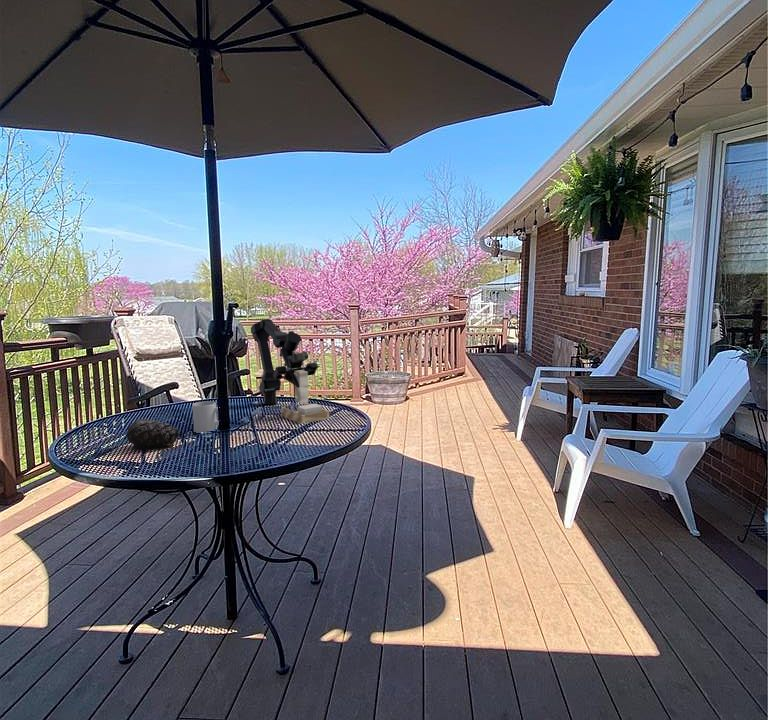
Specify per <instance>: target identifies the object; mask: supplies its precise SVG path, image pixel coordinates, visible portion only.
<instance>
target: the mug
mask: <svg viewBox="0 0 768 720" xmlns="http://www.w3.org/2000/svg"><path fill="white" fill-rule="evenodd" d="M191 407H192V418H193V433H194V432H196V433H201V432H206V431H211V430H214V429H217V427H218V426H219V421H220V420H218V416H217V412H219V411H218V407H217V403H216V402H215V401H211V400H209V401H208V400H206V401H198V402H195V403H192V406H191ZM218 428H219V427H218Z"/></svg>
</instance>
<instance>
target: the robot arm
mask: <svg viewBox="0 0 768 720" xmlns="http://www.w3.org/2000/svg"><path fill="white" fill-rule="evenodd" d="M250 333H251V334H252V337H253V340H254V341H255V342H256V343H257V345H258V346H257V347H258V350H259V351H258V352H259V355H260V361H261V366H262V375H261V378H260V379H261V381H260V384H259V386H258V390H259V393H262V394H263V401H264V402H263V403H265V404H276V405H278V403H279V400H277V391H278V392H279V391H281V383H282V380H281V379H283V380H284V381H286V382H289V383H291V384H292V385H294V387H295V386H296V387H297V388H299V384H298V381H297V379H296V377H295V371H299V370H303V371H307V372H308V376H314V375H315V374H316V373H317V370H318V368H319V366H318V363H317V362H308V363H306V366H303V365H304V361H306V360H308V359H309V354H308V352H307V351H302V352H297V353H296V351H297V349H298V347H299V345H300V343H301V340H302V336H301V335H300V334H298V333H296V332H294V331H293V330H289V331H288V332H285V331H282V330H281V329H279V327H278V326H277V325H276V324H275V323H274V322H273V319H270V318H268V319H267V318H265V319H261V320H259V321H258V322H256V323H254V324H253V325H252V326H251V327H250ZM269 337H270V338H272V344H273V346H274V347H275V349H280V351H279V352H280V353H279V357H282V360H283V362H284V364H283V365H281V366H276V367H275V369H274V366H273V365H274V364H273V361H272V354H271V350H270V344H269V341H268V340H269ZM277 402H278V403H277Z"/></svg>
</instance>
